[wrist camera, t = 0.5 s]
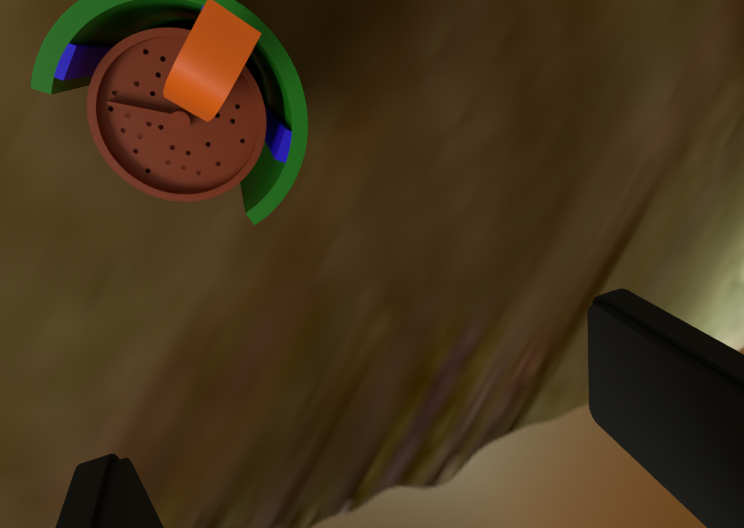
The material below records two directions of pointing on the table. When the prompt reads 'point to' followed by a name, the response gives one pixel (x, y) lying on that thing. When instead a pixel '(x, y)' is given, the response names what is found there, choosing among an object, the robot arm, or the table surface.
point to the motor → (183, 97)
